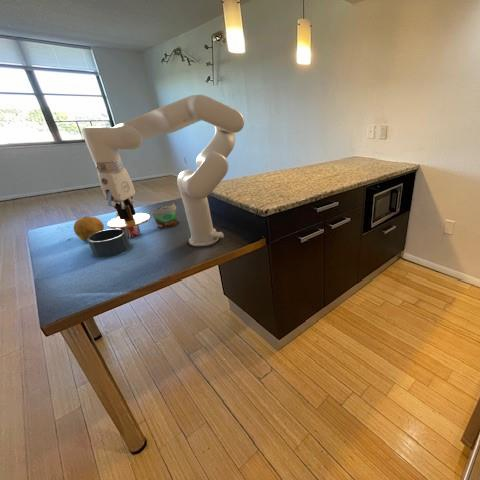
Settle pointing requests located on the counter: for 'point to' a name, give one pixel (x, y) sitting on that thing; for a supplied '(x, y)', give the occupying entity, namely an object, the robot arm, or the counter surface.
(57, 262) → the counter surface
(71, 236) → the counter surface
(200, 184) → the robot arm
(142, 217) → the lid
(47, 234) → the counter surface
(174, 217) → the food container
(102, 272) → the counter surface
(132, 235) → the soda can
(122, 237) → the tin
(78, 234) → the potato
